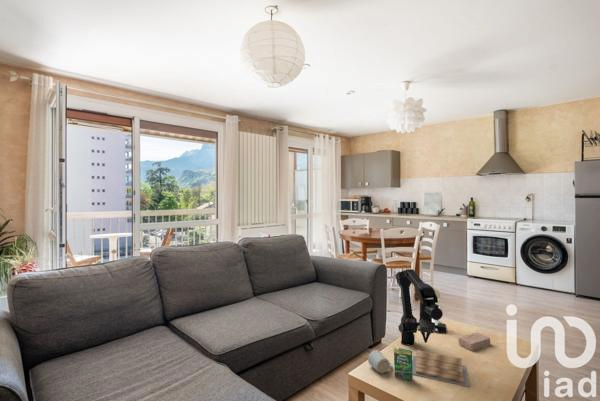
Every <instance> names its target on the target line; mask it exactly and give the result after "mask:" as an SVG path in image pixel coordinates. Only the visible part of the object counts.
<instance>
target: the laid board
mask: <svg viewBox="0 0 600 401" xmlns="http://www.w3.org/2000/svg"><path fill="white" fill-rule="evenodd" d="M416 373H417V374H421V375H426V376H431V377H435V378H440V379H445V380H449V381H454V382H458V383H463V384H464V379H463V373H462V372H457V371H452V370H447V369H442V368H437V367H432V366H427V365H422V364H417V363H416Z"/></svg>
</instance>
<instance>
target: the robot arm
mask: <svg viewBox="0 0 600 401" xmlns="http://www.w3.org/2000/svg"><path fill="white" fill-rule="evenodd" d="M395 280H396V283H397V285H398V287H399V288H400V296H401V304H402V305H401V306H402V313H403V314H402V316H401V318H400V324H399V325H398V331H399V332H400V333H401V334H400V335H401V337H400V338H401V340H400V345H401V344H402V345H406V346H412V347H413V346H414V344H415V338H416V336H415V334H417V331H418V332H420V333H421V336H422V338H423V341H424V343H425V344H426V343H428V340H429V338H430V335H431V334H434V332H435V331H434V330H435V329H438V331H437V332H438V333H439V334H443V335H446V334H447V330H448V329H447V328H448V327H447V324H446V323H443V322H442V323H438V325H435V323H433V322H432V319H434V320H441V319H442V317H443V313H444V312H443V311H442V309H441V307H440V305H439V304H435V303H439V301H438V299H439V297H438V298H437V296H436V293H435V291H434V288H433V286H431V285H430V284H428V283H426V282H424V281H423V280H422V279H421V277H420V276H419V275H418V274H417V273H416V271H415V269H412V268H411V269H410V268H409V269H404V270H401V271H397V272H396V274H395ZM411 285H413V287H414V288H415V289H416V294H417V297H418V298H417V299H418V300H419V319H418V318H416V317H415V316H414V315H413V309H412V300H411V299H412V298H411V290H410V287H411ZM439 307H440V308H439ZM417 319H418V320H417Z"/></svg>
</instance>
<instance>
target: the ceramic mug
mask: <svg viewBox="0 0 600 401" xmlns="http://www.w3.org/2000/svg"><path fill="white" fill-rule="evenodd" d="M367 360H368V361H367V362H368V364H369V365H370V366H371V367H372V368H373V369H374V370H375V371H376V372H378V373H380V374H384V373H386V372H388V371H389V370H392V369H393V364H391V363H390V360H388V359H387V357H386V356H384V354H382V352H380V351H379V350H377V349H375V350H372V351H371V352H370V353H369V355H368V358H367Z"/></svg>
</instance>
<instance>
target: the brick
mask: <svg viewBox="0 0 600 401" xmlns="http://www.w3.org/2000/svg"><path fill="white" fill-rule="evenodd" d="M457 339H458V345H460V346H461V347H463V348H465V349H466V350H469V351H471V352H473V351H477V350H479V349H482V348H485V347H488V346H489V345H490V346H491V342H492V341H491V337H489V336H488V335H486V334H482V333H480V332H478V331H477V332H474V333H471V334H468V335H462V336H459V337H458V338H457Z"/></svg>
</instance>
